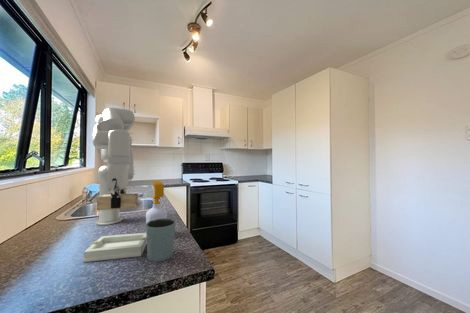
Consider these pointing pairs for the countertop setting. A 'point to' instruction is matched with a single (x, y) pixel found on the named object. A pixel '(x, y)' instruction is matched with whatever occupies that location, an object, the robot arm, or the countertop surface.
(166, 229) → the teal embossed pot
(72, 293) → the countertop surface
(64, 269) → the countertop surface
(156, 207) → the soap bottle
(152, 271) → the countertop surface
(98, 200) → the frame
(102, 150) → the robot arm
